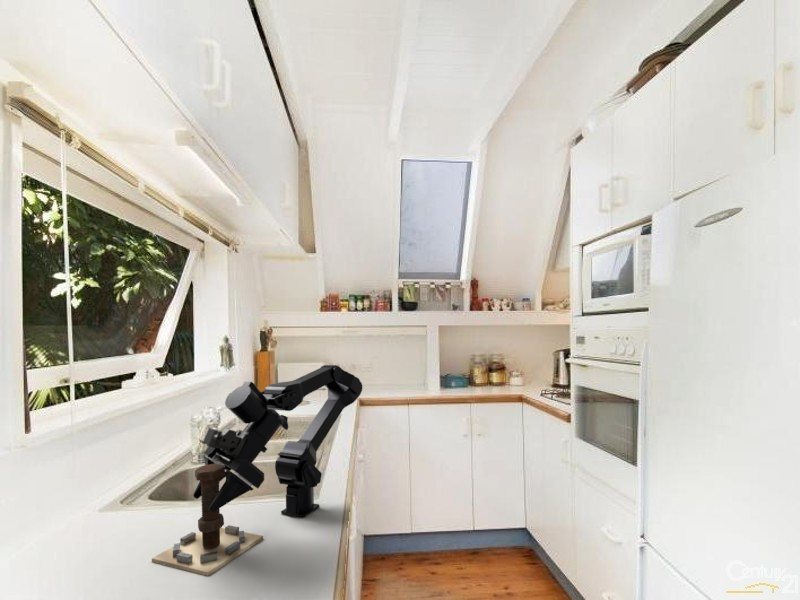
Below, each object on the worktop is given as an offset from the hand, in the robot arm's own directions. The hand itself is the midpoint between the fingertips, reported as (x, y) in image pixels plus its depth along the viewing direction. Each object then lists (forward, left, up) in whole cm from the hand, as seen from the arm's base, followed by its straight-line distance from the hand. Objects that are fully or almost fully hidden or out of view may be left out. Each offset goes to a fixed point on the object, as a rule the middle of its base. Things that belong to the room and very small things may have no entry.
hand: (202, 503), depth 83 cm
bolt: (-1, +1, -9) cm, 9 cm away
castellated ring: (-1, +1, -9) cm, 9 cm away
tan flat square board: (-1, +1, -9) cm, 9 cm away
